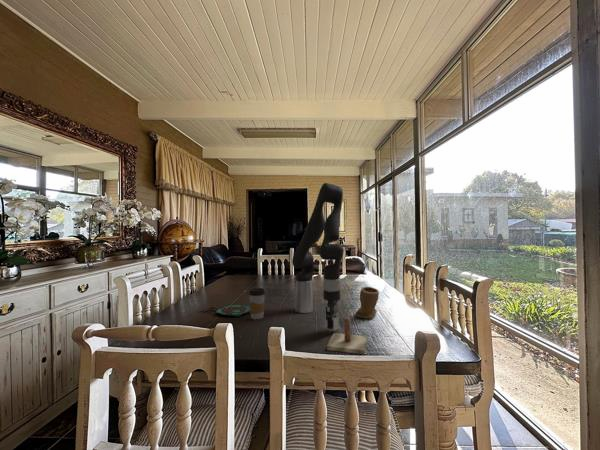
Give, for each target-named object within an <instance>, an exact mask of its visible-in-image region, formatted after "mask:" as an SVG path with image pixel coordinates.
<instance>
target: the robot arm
mask: <svg viewBox="0 0 600 450" xmlns="http://www.w3.org/2000/svg"><path fill="white" fill-rule="evenodd" d="M343 199H344V191H343V188H342V187H341V186H339V185H335V184H331V183H330V182H329V183H327V182H324V183H323V184H322V185H321V187H320V189H319V191H318V195H317V198H316V200H315V201H316V202H315V204H314V205H315V206H314V207H313V210H312V212H311V215H310V217H309V220H308V222H307V225H306V228H305V230H304V232H303V235H302V238H301V240H300V242H299V244H298V246H297V247H296V250H295V251H294V254H293V256H292V260H291V261H292V266H293V268H294V269H299V270H300V269H301V271H300V272H299V273H297V274H296V276H295V294H294V312H296V313H300V314H306V313H307V314H309V313H312V312H313V311H314V309H313V306H314V304H313V276H314V267H315V266H314V265H315V264H314V263H315V260H314V256H313V253H312V252H311V251H309V250H310V249H311V248H312V247H313V246H314V245H315V244H316V243H317V242H318V241H319V240H321V237H322V235H323V239H322V243H321V246H320V249H319V257H320V258H321V259H322V260H324V261H325V260H327V261H334V263H332V264H326V265H325V266H324V267H323V285H322V287H323V288H322V289H323V291H322V294H323V295H322V296H323V298H322V299H323V300H324V301H326V302H327V303H326V306H325V315H326V320H328V329H333V315H337V313H338V301H340V300H341V280H340V278H341V276H340V274H341V273H340V272H341V271H340V268H341V264H342V263H341V262H342V259H343V257H344V247H343V245H342V244H339V243H334V242H337V241H338V240H339V239H340V219H341V212H342V206H343ZM325 203H327V204H328V203H329V204H332V205H333V209H332V211H331V212H330V214H329V215H328V216H327V217H326V219H325V217H324V212H323V209H324V205H325ZM329 315H330V317H329ZM328 329H327V330H328Z"/></svg>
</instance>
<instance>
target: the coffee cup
mask: <svg viewBox="0 0 600 450" xmlns="http://www.w3.org/2000/svg"><path fill="white" fill-rule="evenodd" d="M265 292H266V291H265V289H264V288H261V287H256V288H255V287H254V288H251V289H249V292H248V296H249V297H248V298H249V306H250V312H249V313H250V318H251V319H252V318H253V319H260V318H264V312H265V294H266V293H265Z"/></svg>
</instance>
